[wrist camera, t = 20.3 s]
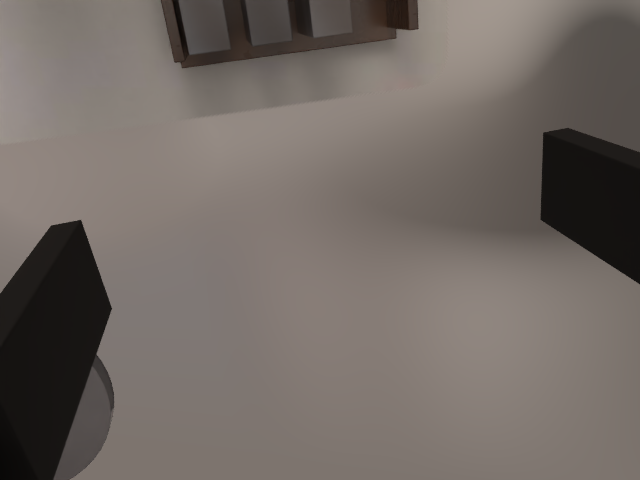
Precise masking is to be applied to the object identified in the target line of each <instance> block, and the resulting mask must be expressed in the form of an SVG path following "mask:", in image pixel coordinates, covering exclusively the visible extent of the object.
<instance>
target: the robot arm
mask: <svg viewBox="0 0 640 480" xmlns="http://www.w3.org/2000/svg"><path fill="white" fill-rule="evenodd" d="M541 193H542V194H541V220H542V221H543V222H545V223H546V224H548V225H549V226H551V227H553V228H554V229H556V230H557V231H559V232H560V233H562V234H563V235H565V236H566V237H568V238H569V239H571V240H573V241H574V242H576V243H577V244H579V245H580V246H582V247H583V248H585V249H587V250H588V251H590V252H591V253H593V254H594V255H596V256H597V257H599V258H600V259H602V260H603V261H605V262H606V263H608V264H610V265H611V266H613V267H614V268H616V269H617V270H619V271H620V272H622V273H624V274H625V275H626V276H628V277H630V278H631V279H633V280H634V281H636V282H637V283H639V284H640V152H637V151H634V150H631V149H628V148H625V147H622V146H619V145H616V144H613V143H610V142H607V141H605V140H602V139H599V138H596V137H593V136H590V135H587V134H584V133H581V132H578V131H575V130H572V129H569V128H565V129H560V130H555V131H549V132H544V133H543V163H542V192H541ZM111 310H112V308H111V305H110V302H109V299H108V296H107V293H106V290H105V287H104V285H103V282H102V279H101V276H100V273H99V270H98V267H97V264H96V262H95V259H94V256H93V253H92V250H91V247H90V244H89V241H88V239H87V236H86V233H85V230H84V227H83V224H82V221H81V220H78V221H73V222H68V223H62V224H58V225H52V226H51V227H50V228H49V229H48V231H47V232H46V233H45V235H44V236H43V237H42V239H41V240H40V241H39V243H38V244H37V245H36V247H35V248H34V250H33V251H32V252H31V253H30V255H29V256H28V257H27V259H26V260H25V261H24V263H23V264H22V265H21V267H20V268H19V269H18V271H17V272H16V273H15V275H14V276H13V277H12V279H11V280H10V281H9V283H8V284H7V285H6V287H5V288H4V289H3V291H2V292H1V293H0V480H53V479H54V476H55V474H56V471H57V468H58V465H59V462H60V459H61V456H62V453H63V450H64V447H65V444H66V441H67V438H68V435H69V433H70V430H71V427H72V424H73V421H74V418H75V415H76V412H77V409H78V406H79V403H80V400H81V397H82V394H83V392H84V389H85V386H86V383H87V380H88V377H89V374H90V371H91V368H92V365H93V362H94V359H95V356H96V353H97V350H98V347H99V345H100V341H101V339H102V336H103V333H104V330H105V327H106V324H107V321H108V318H109V315H110V312H111Z"/></svg>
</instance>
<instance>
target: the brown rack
mask: <svg viewBox="0 0 640 480" xmlns="http://www.w3.org/2000/svg"><path fill="white" fill-rule="evenodd" d="M161 2H162V7H163V12H164V16H165V21H166V25H167V30H168V35H169V39H170V44H171V48H172V53H173V58H174V62H181V65H182V68H187V67H194V66H201V65H208V64H216V63H223V62H230V61H237V60H244V59H252V58H259V57H266V56H273V55H280V54H287V53H295V52H302V51H309V50H316V49H323V48H331V47H338V46H345V45H352V44H359V43H366V42H374V41H381V40H388V39H395V38H396V29H404V30H415V29H418V5H417V0H161Z"/></svg>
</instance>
